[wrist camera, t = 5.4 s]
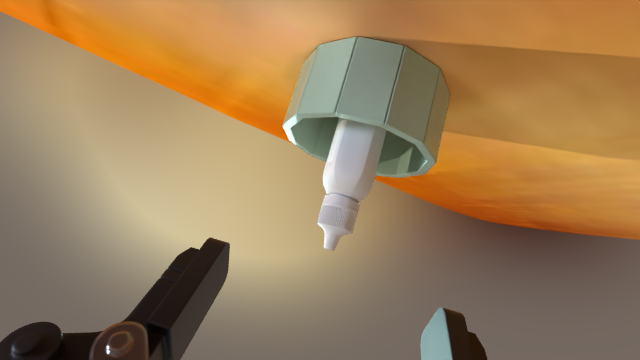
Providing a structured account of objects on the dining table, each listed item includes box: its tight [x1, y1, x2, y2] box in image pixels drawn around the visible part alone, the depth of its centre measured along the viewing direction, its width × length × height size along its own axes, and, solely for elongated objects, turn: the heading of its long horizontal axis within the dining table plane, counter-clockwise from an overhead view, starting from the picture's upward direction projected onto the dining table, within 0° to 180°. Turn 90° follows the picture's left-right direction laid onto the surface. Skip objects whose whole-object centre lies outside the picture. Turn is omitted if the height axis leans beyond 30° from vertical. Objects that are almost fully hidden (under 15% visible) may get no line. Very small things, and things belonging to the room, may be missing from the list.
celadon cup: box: [283, 37, 450, 178], centre depth 23 cm, size 10×10×5 cm
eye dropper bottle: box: [317, 117, 387, 251], centre depth 22 cm, size 4×6×12 cm
